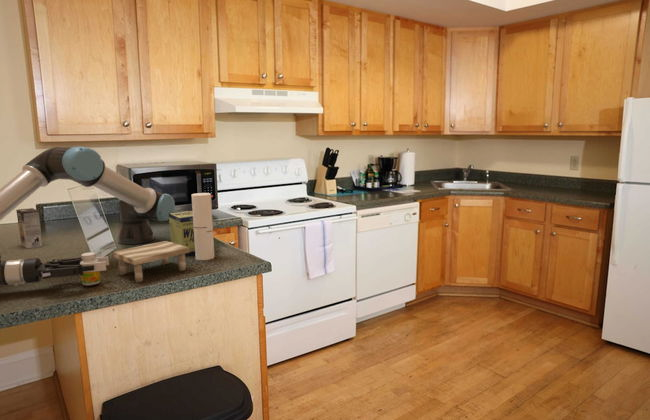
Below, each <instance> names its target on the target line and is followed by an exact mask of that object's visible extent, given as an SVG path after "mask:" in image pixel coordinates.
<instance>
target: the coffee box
mask: <svg viewBox="0 0 650 420" xmlns="http://www.w3.org/2000/svg"><path fill="white" fill-rule="evenodd" d="M16 216H17V225H18V230H19V236H20V237H19V239H20V244H21V246H23V248H26V249H32V248H38V247H43V246H44V245H43V236H42V229H41V228H42V227H41V220H40V212H39V209H38V210H37V209H35V208H33V207H31V208H20V209H19V208H18V209H16Z"/></svg>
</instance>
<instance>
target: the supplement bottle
mask: <svg viewBox="0 0 650 420" xmlns="http://www.w3.org/2000/svg"><path fill="white" fill-rule="evenodd" d="M80 257H82V260H83V261H81V262H80V265H82V266H83V264H84V263H95V262H98V260H97V259H95V258H97V257H96V253H95V252H84V253H82V254H81V255H80ZM100 272H101V271H94V272H83V275H82V276H80V278H81V285H83V286H94V285H97V284H99V283H101V273H100Z"/></svg>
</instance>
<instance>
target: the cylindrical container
mask: <svg viewBox="0 0 650 420" xmlns="http://www.w3.org/2000/svg"><path fill="white" fill-rule="evenodd" d="M212 206H213V205H212V193H210V192H198V193H192V194H191V207H192V210H191V211H193V225H194V240H195V254H194V255H195V260H197V261H209V260H212V259H214V258H215V244H214V242H215V241H214V226H213V225H214V224H213V209H212Z"/></svg>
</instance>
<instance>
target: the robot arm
mask: <svg viewBox="0 0 650 420" xmlns="http://www.w3.org/2000/svg"><path fill="white" fill-rule="evenodd" d="M57 180H71V181H73V182H74V183H77V184H79V185H81V186H83V187H86V188H90V187H95V188H96V189H99V190H100V191H103V192H105V193H106V194H108V195H110V196H113V197H114V198H116V199H118V208H119V209H118V210H119V218H120V227H119V231H118V237H117V241H118V244H121V245H137V244H138V245H139V244H145V243H149V242H153V241H154V239H155V235H154V231H153V230H152V226H151V225H150V221H151V220H152V221H159V222H162V221H169V213H174V212H175V208H176V204H175V199H174V197H173V196H172V195H171V194H168V193H161V192H158V191H157V190H156V189H153V188H152V187H143V186H141V185H139V184H137V183H136V182H134V181H132V180H131V179H129V178H127V177H126V176H123V175H121V174H119V172H116V171H114V170H113V169H111V168H109V167H107V166H106V163H105V161H104V160H103V159H102V157H101V155H100V154H99V152H97V151H96V150H94V149H93V148H90V147H85V146H54V147H50V148H48V149H46V150H44V151H42V152H41V153H39V154H38V155H36V156H35V157H33V158H32V159H31V160H30V161H28V162H27V163H26V164H24V165H23V166H22V171H21V172H19V173H18V174H17V175H16V176H15V177H13V178H11V180H9V181H8V182H6V184H4V185H3V186H2V187H1V188H0V222H1V221H2V220H3V219H4V218H5V217H6V216H7V215H9V214H10V213H11V212H12V211H14V210H15V209H16V208H17V207H18V206H20V205H21V204H22V203H23V202H24V201H25V200H27V199H28V198H29V197H30V196H31V195H33V194H34V193H35V192H36V191H37V190H38V189H39V188H41V187H42V188H43V187H47V186H48V185H49V184H50V183H52V182H54V181H57ZM95 259H97V260H98V262H95V263H84V264H83V266H82V265H80V262H81V261H83V260H82V257H81V256H80V257H71V258H70V257H69V258H64V259H63V258H60V259H57V258H56V259H52V260H50V261H48V260H47V261H46V262H45V263H44V262H42V260H41V259H40V258H39V257H32V258H25V259H22V258H21V259H19V258H18V259H10V260H9V259H8V260H2V255H1V254H0V287H1V286H2V287H3V286H11V285H14V286H15V287H17V286H19V285H20V284H25V283H26V284H30V283H31V284H32V283H34V284H35V283H40V282H41V281H42V280H43V279H44V280H46V279H53V278H62V277H63V278H65V277H74V276H80V277H81V276H82V275H83V272H94V271H100V272H101V271H107V266H109V265H110V260H109V256H99V257H95Z"/></svg>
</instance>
